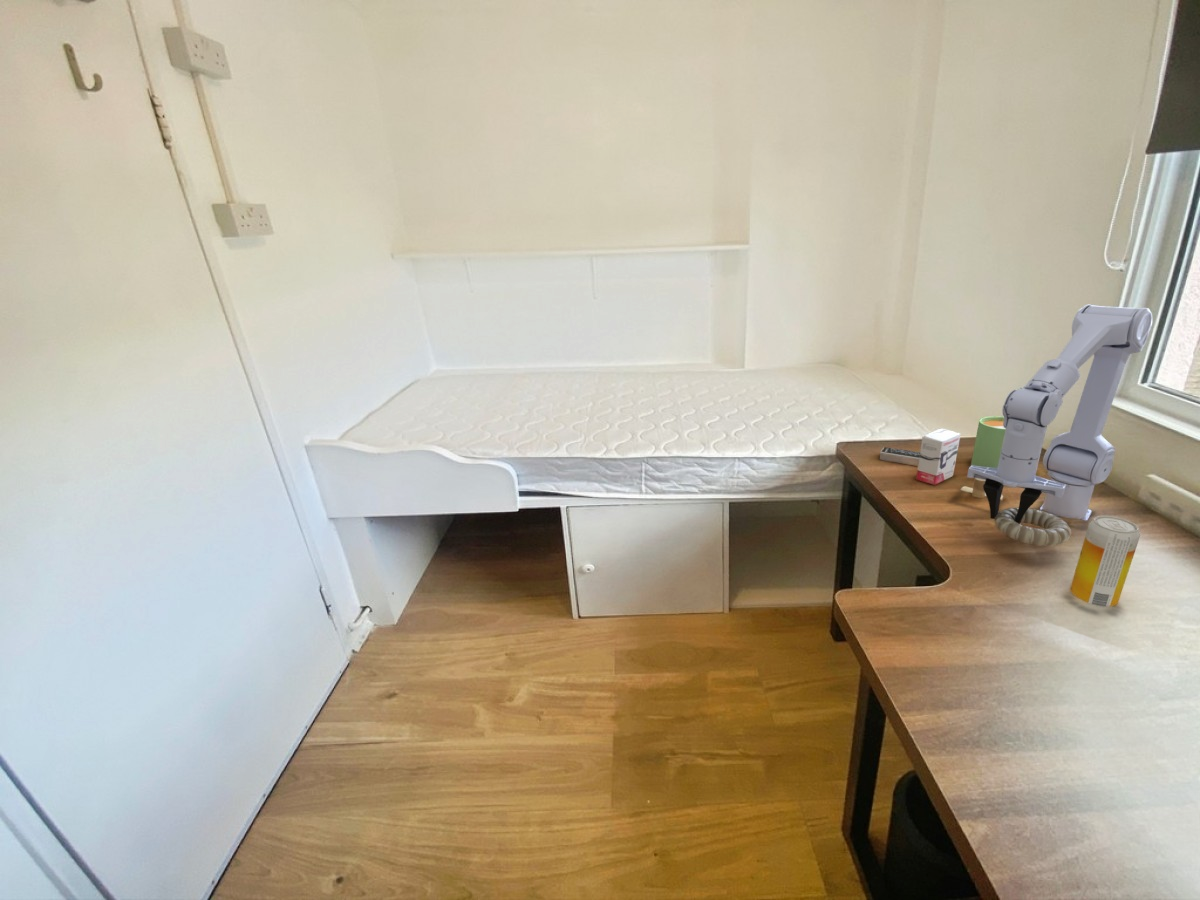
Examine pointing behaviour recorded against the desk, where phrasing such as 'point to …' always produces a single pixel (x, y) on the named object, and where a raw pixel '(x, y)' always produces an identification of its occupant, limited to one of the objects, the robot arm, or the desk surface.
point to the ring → (1049, 536)
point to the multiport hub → (900, 456)
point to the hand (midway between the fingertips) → (1005, 519)
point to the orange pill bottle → (1105, 560)
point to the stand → (977, 489)
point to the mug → (988, 442)
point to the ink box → (937, 456)
